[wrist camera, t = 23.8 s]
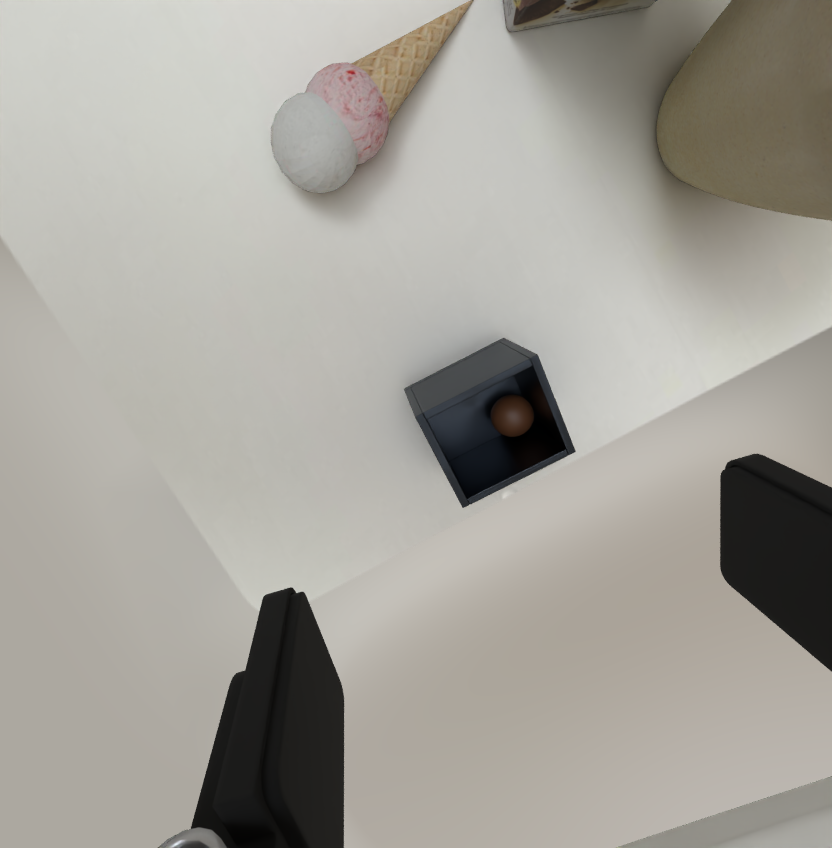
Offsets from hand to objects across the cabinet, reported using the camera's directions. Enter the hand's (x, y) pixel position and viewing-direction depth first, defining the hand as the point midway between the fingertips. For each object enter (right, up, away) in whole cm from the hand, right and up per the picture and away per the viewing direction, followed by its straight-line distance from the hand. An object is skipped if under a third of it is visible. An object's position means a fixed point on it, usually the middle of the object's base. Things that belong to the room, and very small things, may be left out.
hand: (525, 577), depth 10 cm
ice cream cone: (-5, +23, +18) cm, 29 cm away
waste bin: (+2, +5, +25) cm, 25 cm away
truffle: (+4, +4, +23) cm, 24 cm away
